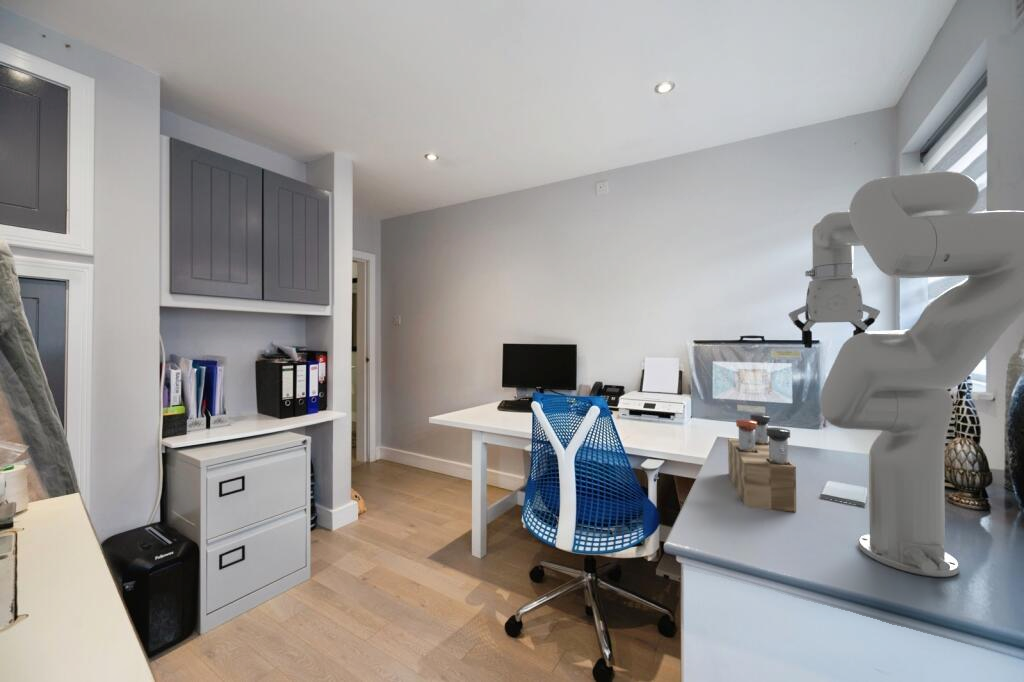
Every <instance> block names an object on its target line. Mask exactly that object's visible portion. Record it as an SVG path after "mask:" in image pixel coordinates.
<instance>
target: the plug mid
mask: <svg viewBox="0 0 1024 682" xmlns="http://www.w3.org/2000/svg"><path fill="white" fill-rule="evenodd" d="M735 423H736V425H735V426H736V427H738V439H739V452H750V453H755V428H757V421H754V420H750V419H744V418H743V419H742V418H741V419H739V418H738V419H736V422H735Z"/></svg>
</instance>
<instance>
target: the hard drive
mask: <svg viewBox="0 0 1024 682" xmlns="http://www.w3.org/2000/svg"><path fill="white" fill-rule="evenodd" d="M868 495H869V487H868V488H867V487H865V486H862V485H855V484H850V483H849V484H848V483H843V482H838V481H832V480H826V482H825V484H824V486H823V489H822V490H821V493H820V499H823V498H827V499H826V500H828V499H832V500H831V501H833V500H837V501H836V502H838V501H842V502H841V503H843V502H847V503H851V504H850V505H852V504H856V505H855V506H857V505H860V506H859V507H862V506H865V507H866V504H867V500H868ZM847 503H846V504H847Z"/></svg>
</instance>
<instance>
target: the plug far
mask: <svg viewBox="0 0 1024 682" xmlns="http://www.w3.org/2000/svg"><path fill="white" fill-rule="evenodd" d="M749 418H750V419H749V420H754V421H757V428H755V444H757V445H768V441H769V436H767V435H766V428H769V423H770V422H771V415H769V414H763V413H762V414H761V413H750V415H749Z"/></svg>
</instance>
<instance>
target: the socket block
mask: <svg viewBox="0 0 1024 682" xmlns="http://www.w3.org/2000/svg"><path fill="white" fill-rule="evenodd" d="M727 446H728V448H727V449H728V452H727V454H728V457H727V459H728V462H727V463H728V475H729V477H730V479H731V481H732V483H733V485H734V487H735V489H736V491H737V493H738V495H739V496H740V499H741V501H742V503H743V505H744V507H745V506H746V508H755V509H766V510H774V511H775V510H776V511H785V512H792V511H793V512H795V513H797V470H796V469H797V467H796V465H795V464H793V462H791V460H789V459H788V465H778V464H770V463H769V440H768V445H757V444H755V453H750V452H739V438H728V439H727Z"/></svg>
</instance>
